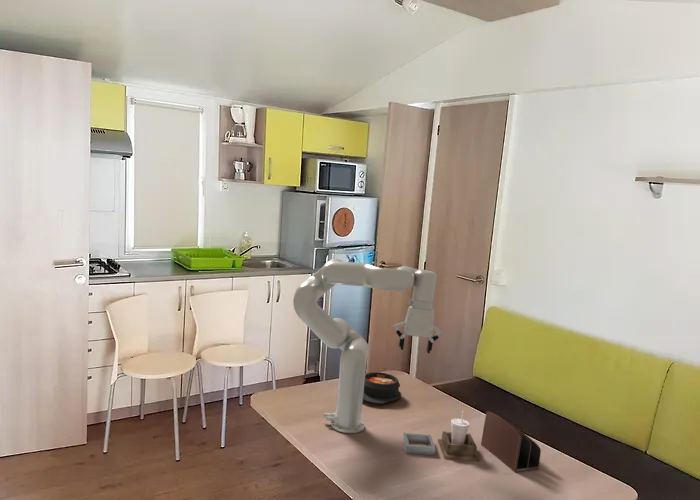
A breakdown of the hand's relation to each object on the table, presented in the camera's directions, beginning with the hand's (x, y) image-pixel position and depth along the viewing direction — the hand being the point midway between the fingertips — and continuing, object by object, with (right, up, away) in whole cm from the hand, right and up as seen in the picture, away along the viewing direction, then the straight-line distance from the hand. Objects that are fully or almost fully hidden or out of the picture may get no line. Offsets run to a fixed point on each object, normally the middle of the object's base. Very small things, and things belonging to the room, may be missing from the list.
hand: (414, 350), depth 195 cm
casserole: (-11, -27, +38) cm, 48 cm away
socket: (+15, -35, -5) cm, 38 cm away
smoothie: (+14, -34, -5) cm, 37 cm away
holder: (+1, -33, -5) cm, 33 cm away
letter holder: (+32, -37, -6) cm, 49 cm away
